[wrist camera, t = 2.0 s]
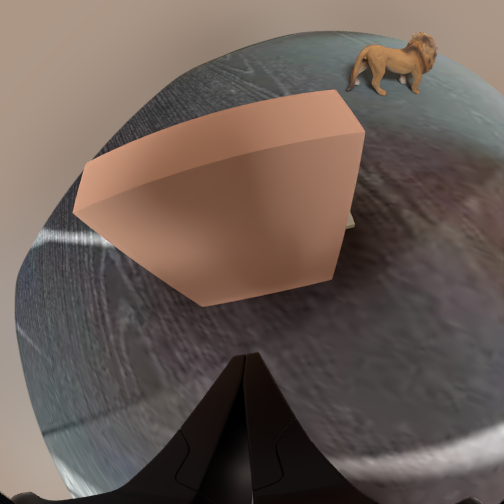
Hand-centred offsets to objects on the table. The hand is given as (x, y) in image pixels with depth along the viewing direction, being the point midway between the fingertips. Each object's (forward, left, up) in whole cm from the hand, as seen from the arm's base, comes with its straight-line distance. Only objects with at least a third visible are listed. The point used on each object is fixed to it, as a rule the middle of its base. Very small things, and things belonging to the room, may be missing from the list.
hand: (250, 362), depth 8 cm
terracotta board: (+6, +2, -10) cm, 12 cm away
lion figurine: (+35, -11, -11) cm, 38 cm away
